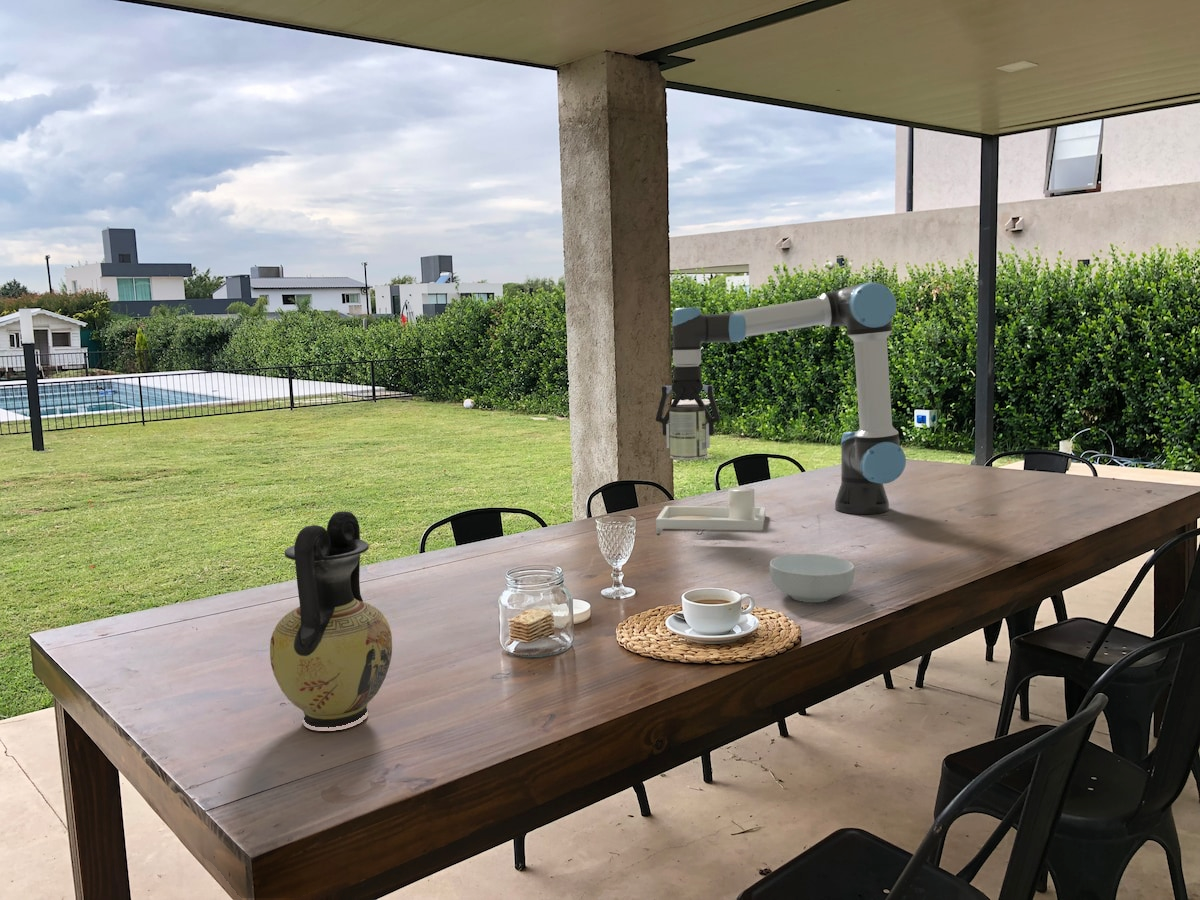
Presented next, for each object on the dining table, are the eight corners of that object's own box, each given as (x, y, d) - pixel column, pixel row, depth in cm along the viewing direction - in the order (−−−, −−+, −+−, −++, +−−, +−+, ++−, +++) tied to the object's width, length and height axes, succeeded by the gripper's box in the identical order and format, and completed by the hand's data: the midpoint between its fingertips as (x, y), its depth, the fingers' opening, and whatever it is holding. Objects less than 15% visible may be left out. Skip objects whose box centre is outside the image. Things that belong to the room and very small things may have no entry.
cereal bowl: (838, 614, 176) (839, 578, 175) (756, 602, 184) (756, 568, 183) (864, 591, 190) (865, 558, 189) (787, 581, 199) (787, 549, 198)
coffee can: (670, 454, 258) (669, 404, 256) (707, 454, 257) (706, 403, 255) (668, 460, 248) (667, 408, 246) (707, 460, 247) (706, 407, 245)
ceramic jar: (755, 519, 253) (755, 487, 252) (753, 525, 247) (753, 492, 245) (729, 519, 255) (729, 487, 254) (727, 525, 248) (727, 492, 247)
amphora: (377, 746, 126) (363, 530, 122) (255, 747, 127) (237, 533, 123) (409, 694, 143) (397, 504, 139) (302, 696, 144) (287, 507, 140)
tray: (765, 521, 258) (765, 507, 258) (762, 535, 241) (762, 520, 240) (665, 519, 264) (665, 505, 264) (656, 533, 247) (655, 519, 246)
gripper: (730, 364, 250) (731, 445, 253) (648, 365, 255) (649, 445, 258) (728, 365, 243) (728, 449, 246) (643, 367, 248) (645, 449, 251)
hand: (688, 447), depth 252 cm, fingers closed on coffee can, 10 cm apart
